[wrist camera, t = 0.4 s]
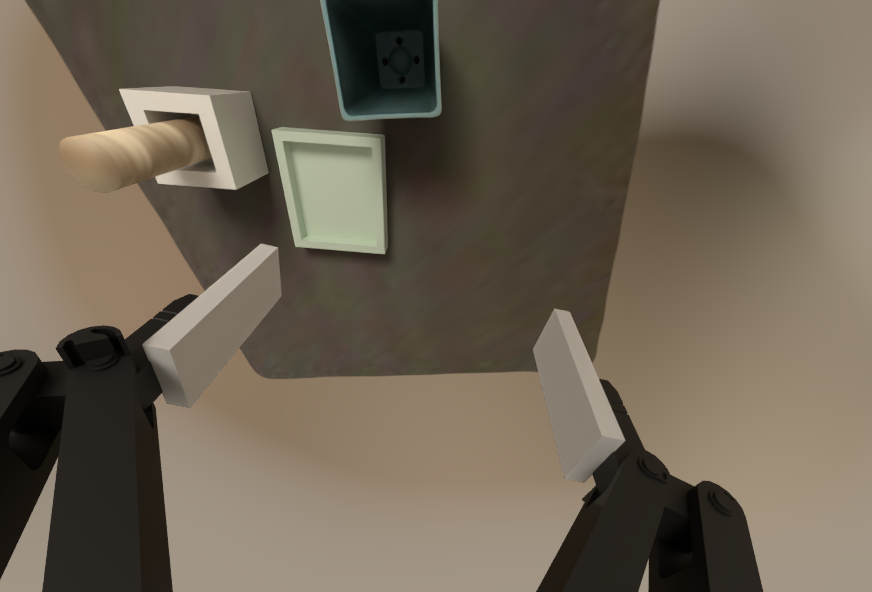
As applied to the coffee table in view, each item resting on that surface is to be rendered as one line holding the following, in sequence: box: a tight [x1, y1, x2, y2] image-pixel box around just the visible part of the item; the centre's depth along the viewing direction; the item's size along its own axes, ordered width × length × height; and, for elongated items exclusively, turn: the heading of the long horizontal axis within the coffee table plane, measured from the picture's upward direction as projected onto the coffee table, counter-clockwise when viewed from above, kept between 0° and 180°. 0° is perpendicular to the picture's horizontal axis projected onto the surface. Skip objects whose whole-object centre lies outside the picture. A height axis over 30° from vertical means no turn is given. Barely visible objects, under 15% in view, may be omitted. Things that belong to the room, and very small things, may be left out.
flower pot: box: [320, 0, 442, 121], centre depth 30 cm, size 9×9×9 cm
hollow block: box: [119, 86, 269, 190], centre depth 36 cm, size 9×9×7 cm
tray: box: [272, 127, 388, 254], centre depth 41 cm, size 14×12×2 cm
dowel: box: [59, 116, 212, 193], centre depth 31 cm, size 4×4×16 cm
